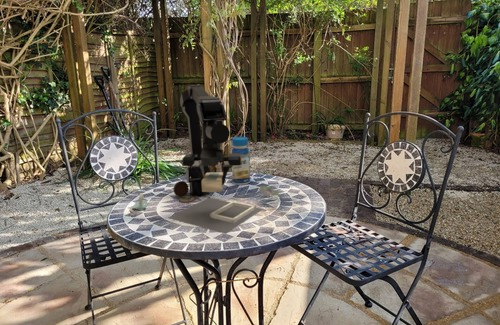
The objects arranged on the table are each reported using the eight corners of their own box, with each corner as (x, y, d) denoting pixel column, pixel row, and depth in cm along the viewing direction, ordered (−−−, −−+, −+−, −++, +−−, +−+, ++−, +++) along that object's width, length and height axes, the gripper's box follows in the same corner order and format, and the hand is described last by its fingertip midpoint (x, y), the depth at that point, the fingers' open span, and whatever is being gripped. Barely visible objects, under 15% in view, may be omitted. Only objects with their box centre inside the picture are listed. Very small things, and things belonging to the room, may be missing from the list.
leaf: (283, 209, 125) (283, 206, 124) (262, 208, 124) (262, 206, 124) (277, 188, 144) (277, 186, 143) (259, 188, 143) (259, 186, 143)
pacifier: (127, 214, 120) (145, 213, 120) (125, 197, 118) (142, 196, 119) (132, 206, 127) (148, 205, 127) (130, 190, 125) (146, 189, 126)
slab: (206, 182, 118) (206, 172, 117) (224, 182, 118) (223, 172, 117) (202, 191, 108) (201, 180, 108) (221, 191, 108) (220, 180, 107)
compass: (183, 205, 126) (182, 187, 124) (173, 200, 132) (172, 182, 130) (202, 200, 131) (201, 182, 129) (192, 195, 137) (190, 178, 135)
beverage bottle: (253, 180, 154) (252, 136, 149) (245, 186, 147) (244, 140, 142) (236, 178, 158) (235, 135, 153) (228, 184, 150) (226, 139, 145)
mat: (167, 219, 114) (167, 214, 114) (209, 199, 132) (208, 194, 132) (226, 235, 102) (225, 229, 101) (263, 210, 120) (262, 205, 119)
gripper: (176, 143, 102) (180, 193, 106) (238, 142, 101) (240, 192, 105) (184, 137, 113) (187, 182, 116) (241, 136, 112) (242, 181, 116)
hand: (213, 184), depth 113 cm, fingers closed on slab, 6 cm apart
